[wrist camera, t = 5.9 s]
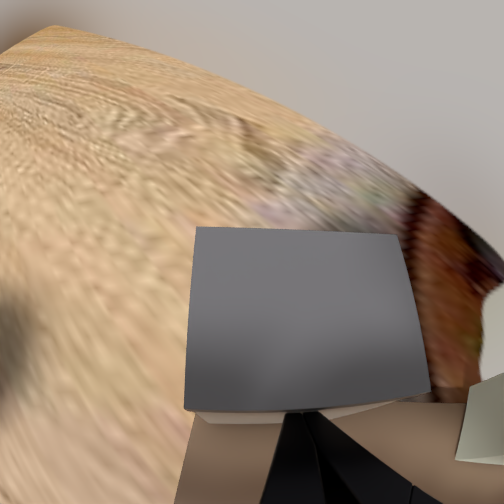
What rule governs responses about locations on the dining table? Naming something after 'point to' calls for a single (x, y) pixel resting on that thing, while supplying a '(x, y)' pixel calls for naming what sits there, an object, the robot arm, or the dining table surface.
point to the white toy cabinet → (299, 325)
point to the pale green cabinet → (484, 423)
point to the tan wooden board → (362, 431)
